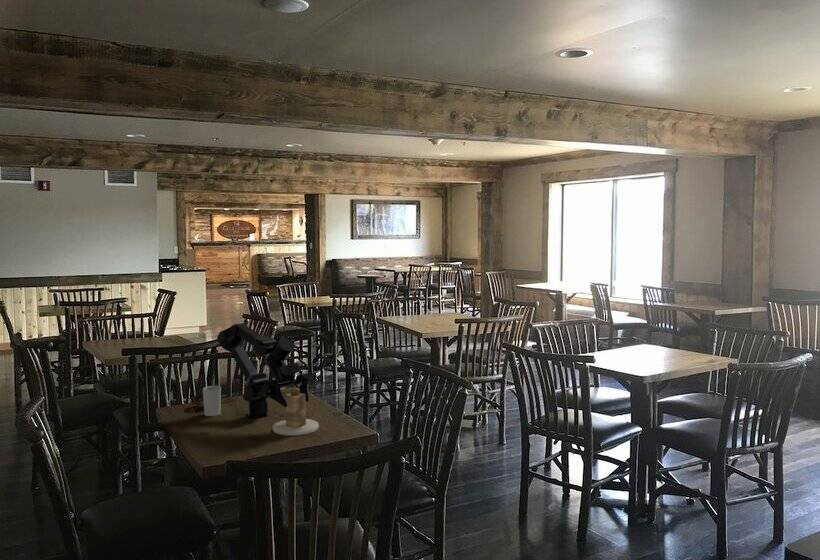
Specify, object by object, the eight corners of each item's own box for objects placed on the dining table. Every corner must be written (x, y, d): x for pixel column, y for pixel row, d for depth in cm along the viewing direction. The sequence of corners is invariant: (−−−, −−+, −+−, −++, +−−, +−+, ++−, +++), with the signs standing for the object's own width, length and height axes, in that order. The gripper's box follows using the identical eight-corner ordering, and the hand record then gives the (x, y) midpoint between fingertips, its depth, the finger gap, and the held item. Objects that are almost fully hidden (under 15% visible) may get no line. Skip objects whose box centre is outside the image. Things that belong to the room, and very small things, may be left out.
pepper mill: (294, 428, 222) (293, 391, 221) (285, 425, 225) (285, 389, 224) (305, 425, 225) (305, 388, 224) (297, 422, 229) (296, 386, 228)
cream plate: (278, 438, 215) (278, 434, 215) (268, 425, 229) (268, 421, 229) (324, 431, 222) (324, 428, 222) (311, 419, 236) (311, 416, 236)
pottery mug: (211, 412, 247) (199, 394, 246) (196, 419, 252) (185, 402, 251) (230, 397, 258) (219, 380, 257) (216, 404, 262) (205, 387, 261)
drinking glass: (223, 411, 247) (223, 385, 246) (219, 416, 240) (218, 390, 239) (206, 411, 247) (205, 386, 246) (201, 416, 240) (200, 390, 239)
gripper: (265, 358, 219) (284, 396, 213) (308, 350, 233) (328, 385, 226) (252, 377, 225) (271, 414, 219) (295, 369, 239) (314, 403, 232)
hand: (297, 403), depth 224 cm, fingers open, 9 cm apart
